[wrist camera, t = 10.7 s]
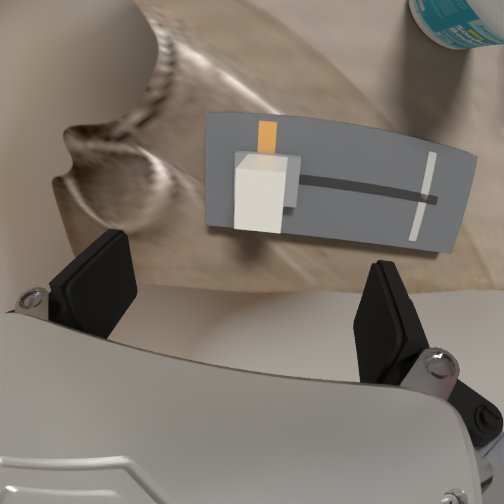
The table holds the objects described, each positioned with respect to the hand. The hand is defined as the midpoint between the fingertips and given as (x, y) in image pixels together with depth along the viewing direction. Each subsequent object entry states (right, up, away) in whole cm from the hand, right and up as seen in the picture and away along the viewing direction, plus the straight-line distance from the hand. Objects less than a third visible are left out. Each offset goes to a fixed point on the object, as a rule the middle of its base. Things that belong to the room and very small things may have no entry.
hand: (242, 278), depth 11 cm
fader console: (+9, +7, +14) cm, 18 cm away
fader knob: (+2, +7, +13) cm, 14 cm away
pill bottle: (+17, +22, +5) cm, 29 cm away
